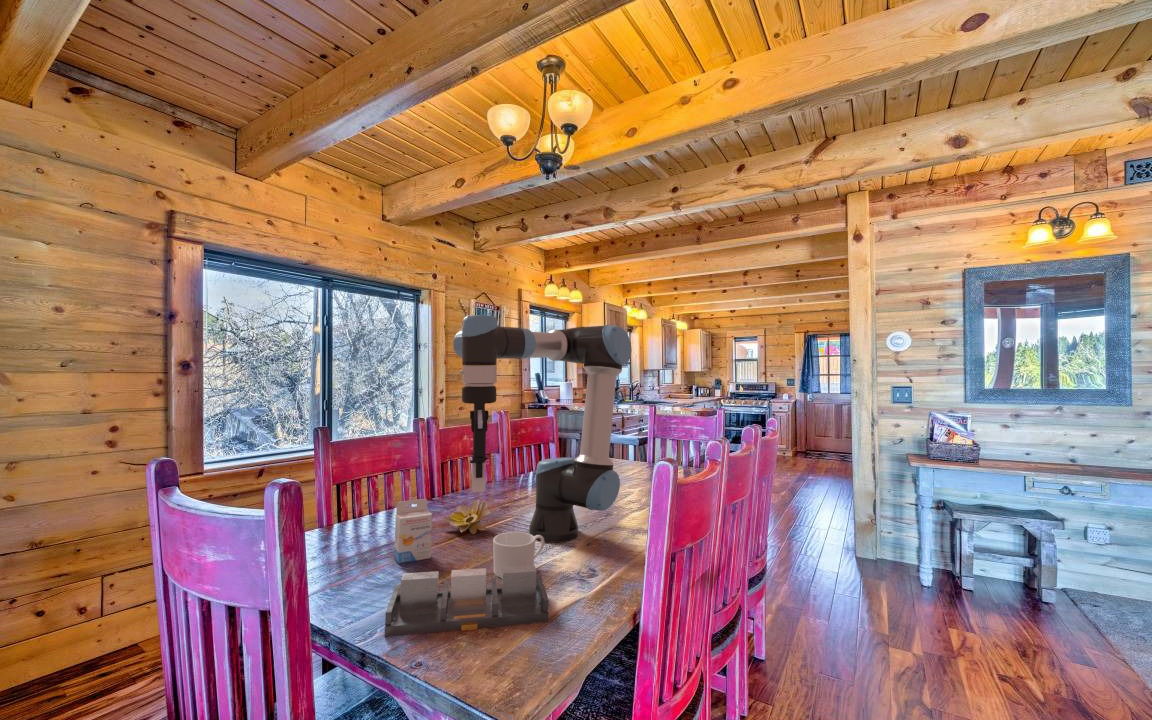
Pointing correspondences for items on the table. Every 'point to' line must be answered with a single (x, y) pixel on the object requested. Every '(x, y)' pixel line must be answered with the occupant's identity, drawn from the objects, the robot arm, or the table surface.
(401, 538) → the ink box
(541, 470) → the robot arm
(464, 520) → the decorative flower
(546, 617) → the rack
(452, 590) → the panel
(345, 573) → the table surface
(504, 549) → the mug
